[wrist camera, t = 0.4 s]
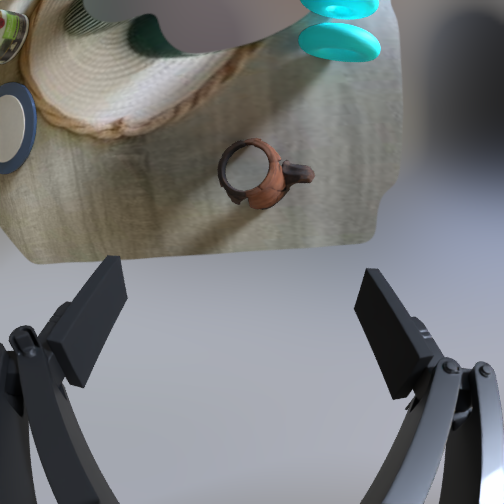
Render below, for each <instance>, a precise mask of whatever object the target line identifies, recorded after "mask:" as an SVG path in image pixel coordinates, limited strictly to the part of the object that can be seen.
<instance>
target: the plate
mask: <svg viewBox="0 0 504 504" xmlns="http://www.w3.org/2000/svg"><path fill="white" fill-rule="evenodd" d="M36 124H37V117H36V108H35V103H34V100H33V97H32V95H31V93H30V92H29V90H28V89H27V88H26V87H25V86H24V85H22V84H20V83H17V82H9V83H6V84H3V85H2V86H0V174H9V173H12V172H14V171H16V170H17V169H19V168H20V167H21V166H22V165H23V163H24V162H25V161H26V159H27V158H28V156H29V154H30V152H31V149H32V146H33V143H34V139H35V134H36Z"/></svg>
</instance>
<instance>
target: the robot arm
mask: <svg viewBox="0 0 504 504" xmlns="http://www.w3.org/2000/svg"><path fill="white" fill-rule="evenodd" d="M127 299H128V298H127V293H126V288H125V283H124V277H123V272H122V266H121V260H120V256H110V255H107V257H106V258H105V259H104V260H103V262H102V263H101V264H100V265H99V267H98V268H97V269H96V270H95V272H94V273H93V274H92V276H91V277H90V278H89V279H88V281H87V282H86V283H85V285H84V286H83V287H82V289H81V290H80V291H79V293H78V294H77V296H76V297H75V298H74V299H73V301H72V302H65V303H64V304H63V305H61V306H60V307H59V308H58V309H57V310H56V312H55V313H54V315H53V316H52V317H51V318H50V320H49V322H48V323H47V324H46V326H45V327H44V329H43V330H42V331H41V333H40V334H39V336H38V337H37V335H36V333H35V331H34V329H33V328H32V327H31V326H27V325H25V326H20V327H18V328H16V329H15V330H14V331H13V332H12V333H11V334H10V336H9V342H10V344H11V346H12V348H13V350H14V351H6V350H5V348H4V346H3V344H1V343H0V504H37V501H36V496H35V490H34V483H33V476H32V468H31V459H30V446H29V424H30V427H31V431H32V435H33V438H34V442H35V445H36V448H37V451H38V454H39V457H40V460H41V463H42V466H43V469H44V471H45V474H46V477H47V479H48V482H49V484H50V487H51V489H52V491H53V494H54V496H55V498H56V500H57V503H58V504H120V503H119V502H118V501H117V499H116V497H115V496H114V494H113V492H112V490H111V489H110V487H109V485H108V484H107V482H106V480H105V478H104V476H103V475H102V473H101V471H100V469H99V467H98V465H97V463H96V461H95V459H94V457H93V455H92V453H91V451H90V449H89V447H88V445H87V443H86V441H85V438H84V436H83V434H82V432H81V429H80V427H79V425H78V422H77V419H76V417H75V415H74V412H73V409H72V407H71V404H70V401H69V398H68V396H67V393H66V390H65V387H64V385H63V384H62V381H63V379H64V377H66V379H67V380H68V382H69V384H70V385H74V386H78V387H81V388H84V387H85V385H86V383H87V380H88V378H89V376H90V374H91V371H92V369H93V367H94V365H95V363H96V361H97V358H98V356H99V354H100V352H101V350H102V348H103V346H104V344H105V341H106V340H107V337H108V335H109V333H110V331H111V329H112V327H113V325H114V323H115V321H116V320H117V317H118V316H119V314H120V312H121V310H122V308H123V306H124V304H125V302H126V300H127ZM354 310H355V312H356V314H357V317H358V319H359V321H360V323H361V325H362V328H363V330H364V332H365V334H366V337H367V339H368V341H369V344H370V346H371V348H372V350H373V353H374V355H375V357H376V360H377V362H378V365H379V367H380V369H381V372H382V374H383V377H384V379H385V382H386V384H387V387H388V389H389V392H390V394H391V397H392V399H393V400H395V399H400V398H406V397H407V396H408V395H409V393H410V392H411V391H412V389H413V391H414V393H415V396H414V398H413V399H412V400H411V402H410V403H409V405H408V406H407V407H406V408H405V410H407V409H408V408H409V409H408V412H407V414H406V417H405V419H404V421H403V423H402V426H401V428H400V430H399V432H398V435H397V437H396V439H395V441H394V443H393V445H392V447H391V449H390V452H389V453H388V455H387V457H386V460H385V461H384V463H383V465H382V467H381V469H380V471H379V472H378V474H377V476H376V478H375V480H374V481H373V483H372V485H371V486H370V488H369V490H368V492H367V493H366V495H365V497H364V498H363V500H362V501H361V503H360V504H424V502H425V499H426V497H427V495H428V492H429V490H430V487H431V485H432V482H433V480H434V477H435V474H436V472H437V469H438V466H439V464H440V461H441V458H442V455H443V452H444V449H445V445H446V452H445V464H444V473H443V481H442V489H441V495H440V501H439V504H504V425H503V417H502V409H501V402H500V396H499V390H498V385H497V380H496V375H495V372H494V369H493V368H492V367H491V366H490V365H489V364H488V363H485V362H477V363H476V364H475V366H474V367H473V369H465V368H461V367H460V365H459V364H458V363H457V362H456V361H455V360H453V359H451V358H448V357H444V356H443V354H442V352H441V350H440V349H439V347H438V346H437V344H436V342H435V341H434V339H433V338H432V337H431V335H430V333H429V332H428V330H427V328H426V327H425V325H424V324H423V323H422V322H421V321H420V320H419V319H418V318H416V317H411V316H410V315H409V313H408V312H407V310H406V309H405V307H404V306H403V304H402V303H401V301H400V300H399V298H398V297H397V295H396V294H395V292H394V291H393V289H392V288H391V286H390V285H389V283H388V282H387V281H386V279H385V278H384V276H383V275H382V273H381V272H380V271H379V269H371V268H370V269H369V268H366V270H365V274H364V277H363V281H362V284H361V287H360V291H359V294H358V297H357V301H356V304H355V307H354Z"/></svg>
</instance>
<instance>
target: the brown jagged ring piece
mask: <svg viewBox="0 0 504 504" xmlns="http://www.w3.org/2000/svg"><path fill="white" fill-rule="evenodd" d="M248 145H254V146H255V147H258V148H260V149H261V150H263V151H264V152H265V154H266V155H267V157H268V160H269V170H268V174H267V176H266V178H265V179H264V181H263V182H262V183H261V184H260V185H259V186H257V187H255V188H253V189H251V190H246V191H241V190H237V189H235V188H233V187H232V186H231V185H230V184H229V183H228V181H227V179H226V175H225V169H226V165H227V162H228V160H229V158H230V157H231V156H232V154H233V153H234V152H236V151H237V150H239V149H240V148H243V147H245V146H248ZM280 160H281V157H280V156H279V154H278V153H277V152H276V151H275V150H274V149H273V148H272V147H271V146H270V145H268V144H267V143H265V142H263V141H261V139H258V138H252V139H247V140H245V141H241V140H240V141H237V142H235V143H234V144H232V145H231V146H230V147H228V148H227V149H226V150H225V152H224V153H223V155H222V158H221V159H220V161H219V165H218V178H219V181H220V185H221V187H224V189H225V190H226V192H227V195H228V196H229V197H230V198H231V201H232V202H234V203H235V204H237V205H240V202H241V201H242V200H244V199H245V198H248V201H249V205H250V207H251V208H254V209H262V210H263V209H268V208H271V207H272V206H274V205H275V204H276V203H278V202H279V201H280V200H281V199H282V198H283V197H284V196H285V195H286V193H287V192H288V191H289V190H290V187H291V186H292V185H293V184H295V183H311V182H312V180H313V178H314V177H315V175H314V171H313V170H312V169H311V168H310V167H309V166H306V165H295V164H291V163H290V162H289V161H288V160H286V161H284V162H283V164H282V167H281V165H280V164H279V161H280Z"/></svg>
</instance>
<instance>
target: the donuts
mask: <svg viewBox="0 0 504 504" xmlns="http://www.w3.org/2000/svg"><path fill="white" fill-rule="evenodd" d="M300 1H301V3H302V4H303V5H304V6H305V7H306V8H308V9H309V10H310V11H312V12H314V13H317V14H319V15H322V16H326V17H330V18H336V19H360V18H365V17H368V16H370V15H372V14H373V13H374V12H375V11H376V10H377V8H378V5H379V1H378V0H300ZM298 43H299V46H300V47H301V49H302V50H303V51H304V52H306V53H308V54H310V55H312V56H315V57H319V58H323V59H328V60H335V61H343V62H367V61H371V60H374V59H375V58H377V57H378V55H379V54H380V45H379V42H378V41H377V39H376V38H375V37H374V36H373V35H372V34H370V33H369V32H367V31H365V30H363V29H361V28H359V27H356V26H352V25H348V24H342V23H321V24H316V25H313V26H310V27H308V28H306V29H305V30H303V31H302V32H301V34H300V35H299V38H298Z"/></svg>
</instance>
